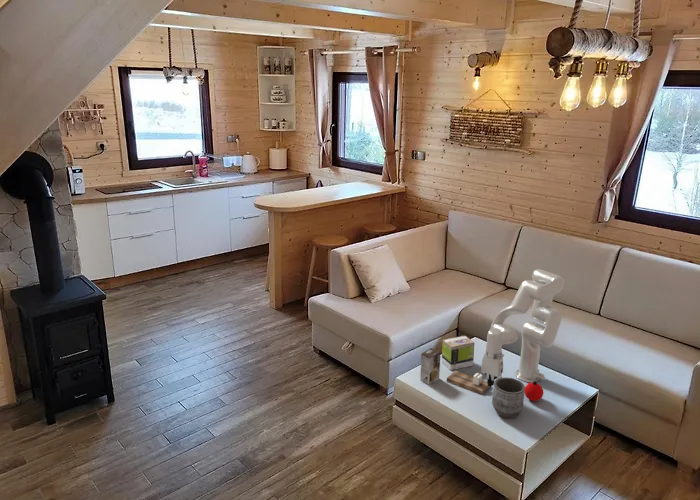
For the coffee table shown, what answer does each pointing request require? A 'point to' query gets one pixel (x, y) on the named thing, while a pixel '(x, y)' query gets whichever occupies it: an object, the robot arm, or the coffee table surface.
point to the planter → (508, 397)
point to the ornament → (533, 391)
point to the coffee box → (430, 366)
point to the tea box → (457, 352)
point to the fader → (477, 379)
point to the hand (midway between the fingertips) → (490, 385)
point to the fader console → (467, 382)
